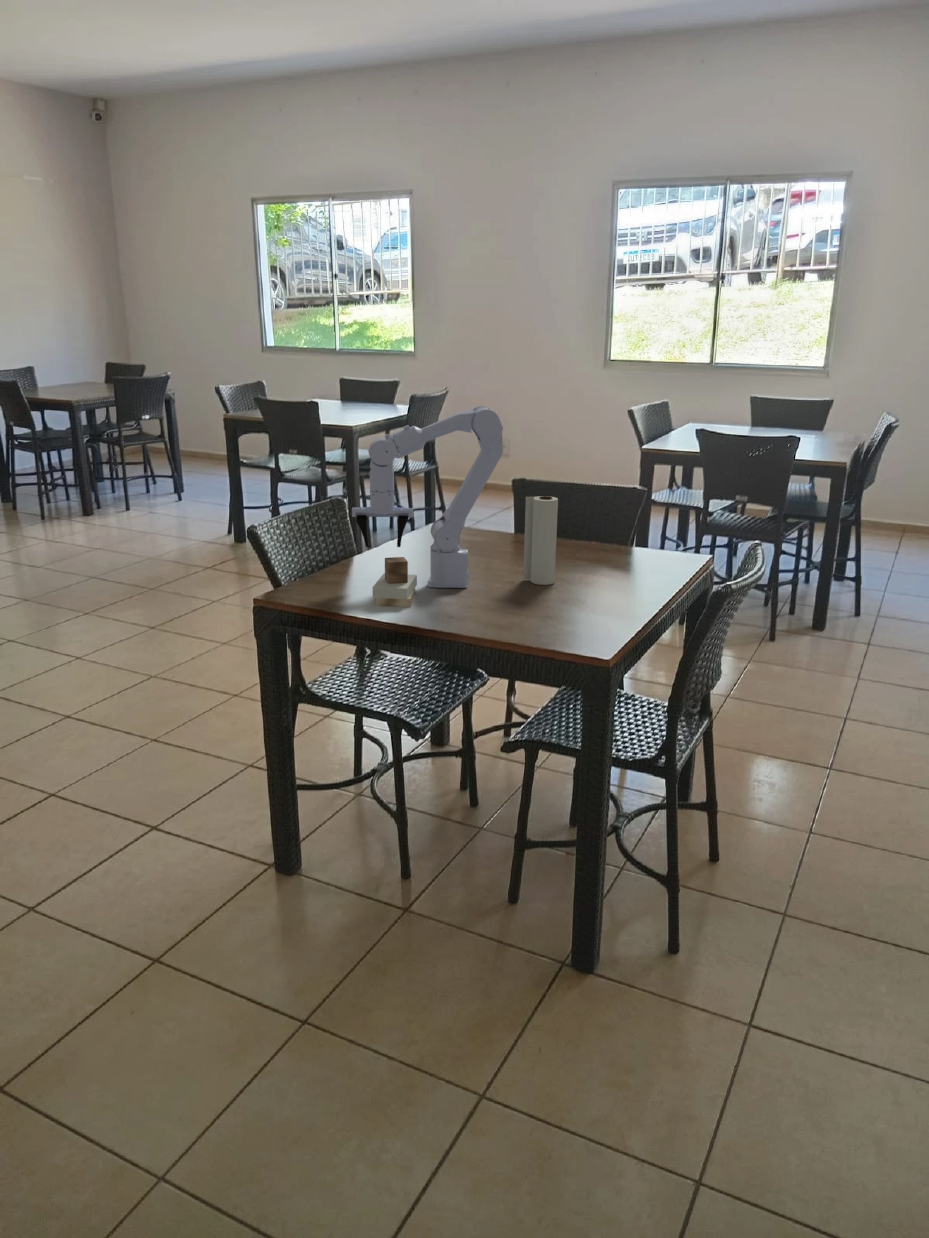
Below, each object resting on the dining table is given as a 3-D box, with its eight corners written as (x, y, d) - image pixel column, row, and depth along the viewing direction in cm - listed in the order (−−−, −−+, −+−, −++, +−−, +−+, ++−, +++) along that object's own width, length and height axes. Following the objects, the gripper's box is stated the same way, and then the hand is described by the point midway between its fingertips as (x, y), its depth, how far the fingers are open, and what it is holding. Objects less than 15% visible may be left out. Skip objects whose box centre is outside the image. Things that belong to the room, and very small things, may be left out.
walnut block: (403, 577, 217) (403, 557, 216) (407, 582, 213) (407, 561, 211) (384, 578, 216) (384, 557, 214) (388, 583, 212) (388, 562, 210)
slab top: (416, 584, 220) (416, 574, 219) (407, 599, 209) (407, 588, 208) (384, 583, 221) (383, 573, 221) (372, 597, 210) (372, 587, 209)
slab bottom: (415, 594, 222) (415, 584, 221) (410, 609, 210) (410, 598, 209) (382, 593, 222) (381, 583, 221) (375, 608, 210) (375, 598, 210)
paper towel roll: (559, 583, 229) (563, 498, 223) (539, 586, 226) (542, 500, 220) (542, 576, 235) (545, 493, 229) (523, 579, 232) (525, 495, 226)
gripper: (413, 487, 223) (414, 542, 227) (353, 487, 223) (355, 541, 227) (411, 493, 216) (412, 549, 220) (350, 492, 216) (351, 548, 220)
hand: (383, 546), depth 223 cm, fingers open, 7 cm apart
